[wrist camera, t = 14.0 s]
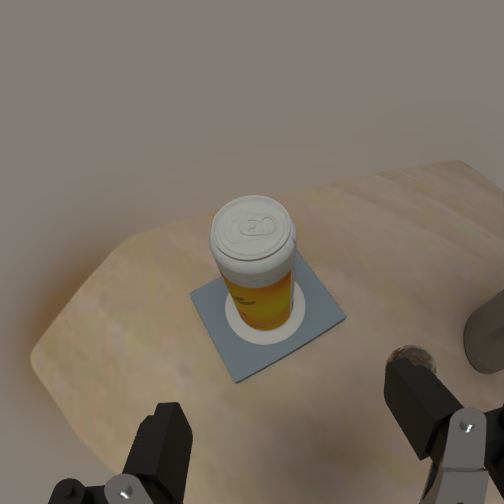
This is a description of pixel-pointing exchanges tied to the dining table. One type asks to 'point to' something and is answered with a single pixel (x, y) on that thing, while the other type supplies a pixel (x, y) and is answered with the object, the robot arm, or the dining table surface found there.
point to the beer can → (256, 258)
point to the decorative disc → (414, 357)
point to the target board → (272, 341)
